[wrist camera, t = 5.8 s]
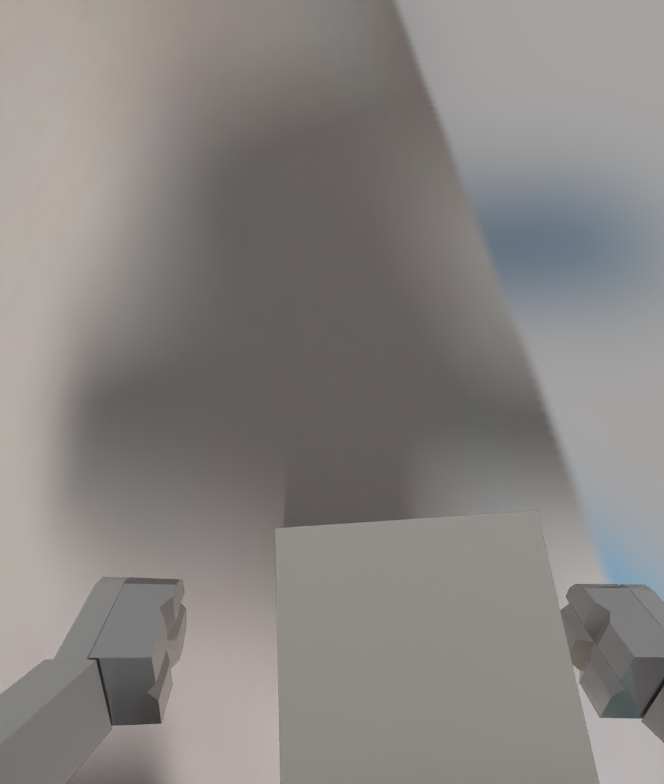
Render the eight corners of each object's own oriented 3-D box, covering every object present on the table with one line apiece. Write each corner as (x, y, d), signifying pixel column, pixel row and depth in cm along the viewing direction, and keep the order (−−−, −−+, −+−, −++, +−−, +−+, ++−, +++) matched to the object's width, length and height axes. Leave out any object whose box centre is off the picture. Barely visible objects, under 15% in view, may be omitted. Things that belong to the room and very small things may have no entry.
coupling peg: (287, 687, 12) (282, 906, 5) (283, 539, 14) (274, 528, 6) (421, 671, 13) (614, 850, 5) (404, 531, 14) (537, 510, 6)
